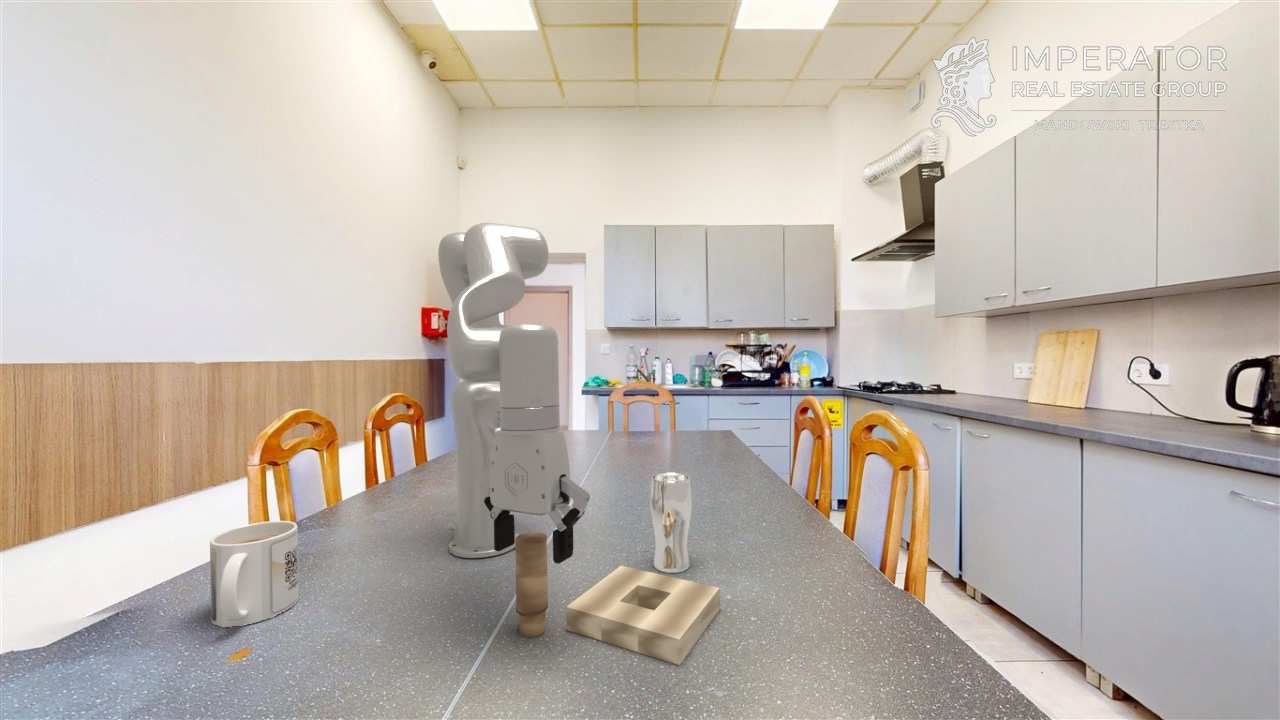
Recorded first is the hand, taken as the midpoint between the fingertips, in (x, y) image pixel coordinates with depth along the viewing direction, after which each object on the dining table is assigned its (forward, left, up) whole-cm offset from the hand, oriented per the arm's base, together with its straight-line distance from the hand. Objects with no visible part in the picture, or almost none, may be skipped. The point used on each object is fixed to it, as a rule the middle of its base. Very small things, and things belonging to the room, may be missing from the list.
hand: (532, 553), depth 63 cm
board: (+11, +9, -10) cm, 18 cm away
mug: (-39, -15, -10) cm, 43 cm away
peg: (-1, 0, -10) cm, 10 cm away
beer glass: (+7, +26, -10) cm, 29 cm away
